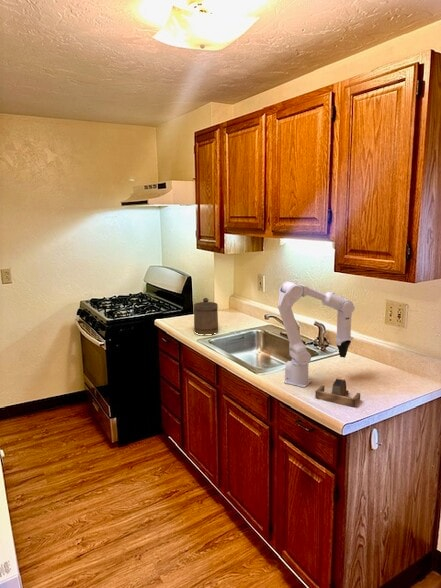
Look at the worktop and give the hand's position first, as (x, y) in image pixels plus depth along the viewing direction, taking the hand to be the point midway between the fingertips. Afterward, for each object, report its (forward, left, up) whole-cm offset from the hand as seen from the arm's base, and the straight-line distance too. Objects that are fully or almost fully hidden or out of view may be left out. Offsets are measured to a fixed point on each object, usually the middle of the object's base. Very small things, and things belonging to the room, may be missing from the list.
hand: (342, 356), depth 178 cm
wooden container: (-94, +29, -10) cm, 99 cm away
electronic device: (+5, -19, -10) cm, 22 cm away
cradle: (+5, -22, -10) cm, 25 cm away
